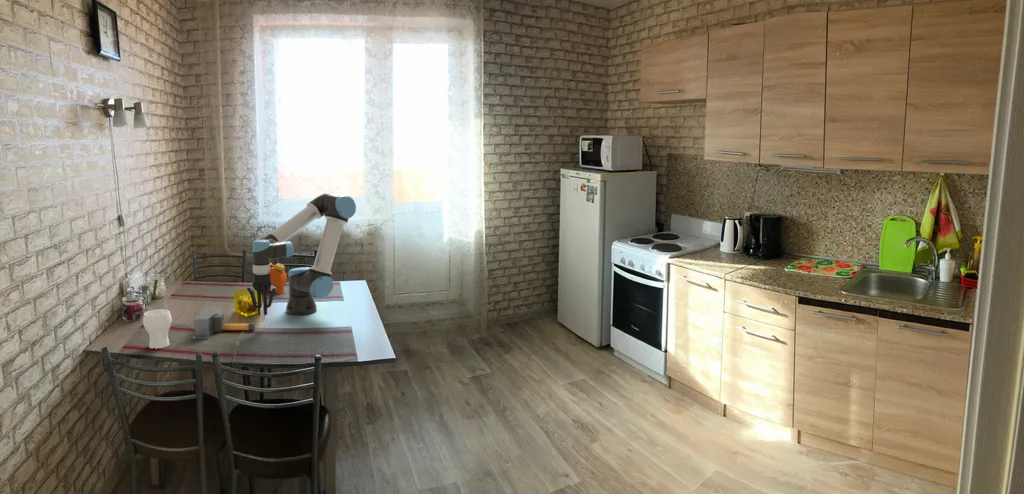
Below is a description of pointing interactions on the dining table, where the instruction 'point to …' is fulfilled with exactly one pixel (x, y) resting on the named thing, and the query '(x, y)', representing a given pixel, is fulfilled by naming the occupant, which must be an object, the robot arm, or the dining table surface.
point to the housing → (206, 323)
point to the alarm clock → (278, 277)
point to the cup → (158, 327)
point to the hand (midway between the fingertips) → (262, 321)
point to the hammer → (229, 325)
